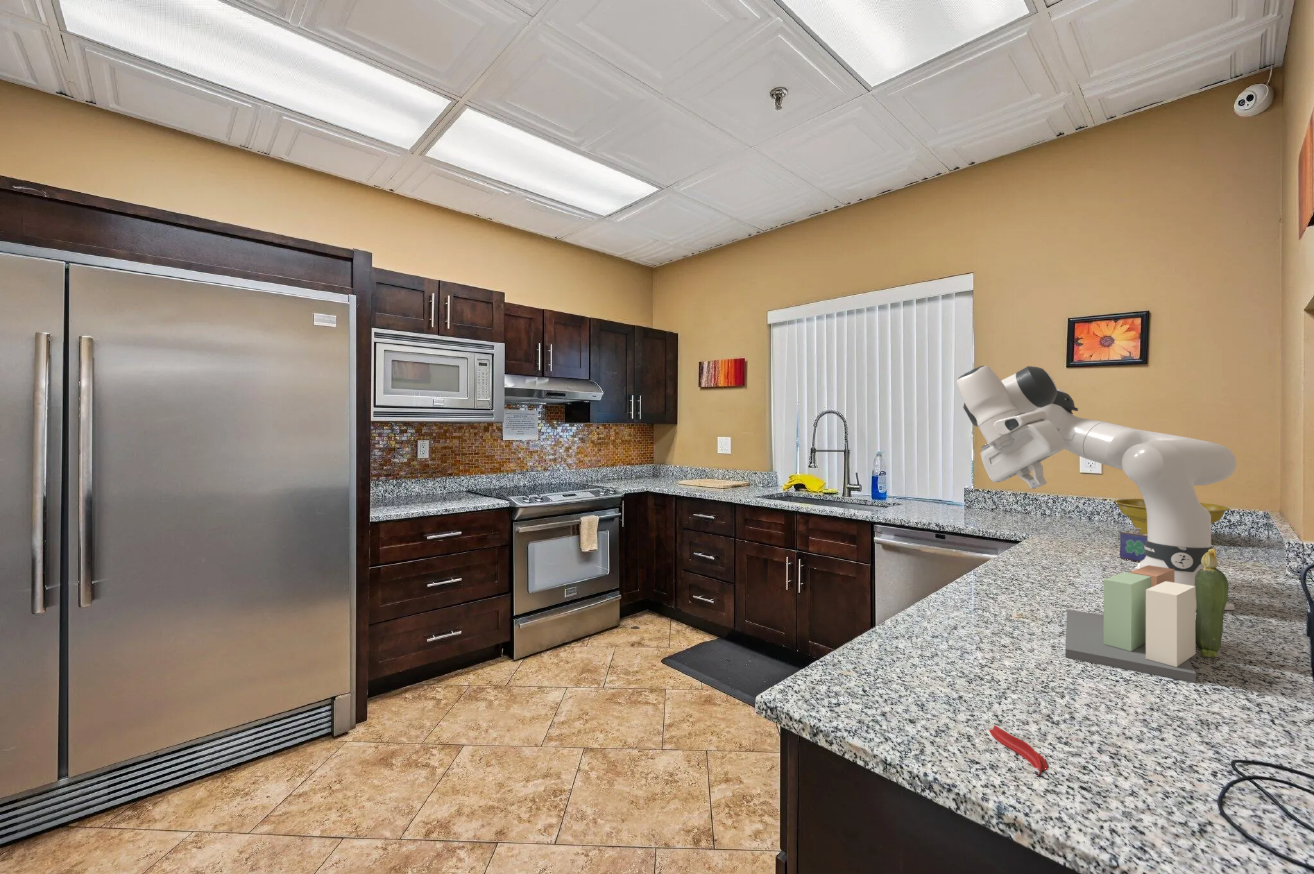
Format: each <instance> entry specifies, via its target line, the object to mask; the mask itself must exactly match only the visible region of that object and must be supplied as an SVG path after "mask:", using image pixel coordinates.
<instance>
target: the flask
mask: <svg viewBox="0 0 1314 874" xmlns="http://www.w3.org/2000/svg"><path fill="white" fill-rule="evenodd" d="M1133 529H1134V530H1121V531H1120V532H1119V533H1120V535H1119V537H1120V538H1119V539H1120V541H1119V546H1120V547H1119V558H1121V559H1120V560H1122V559H1128V560H1131V561H1130V562H1135V561H1138V562H1137V563H1140V561H1142V560H1144V559H1145V557H1146V555H1145V549H1144V545H1145V541H1146V540H1147V534H1141V533H1140V530H1141V529H1140V528H1135V527H1133ZM1128 560H1127V561H1128Z"/></svg>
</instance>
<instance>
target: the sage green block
mask: <svg viewBox="0 0 1314 874" xmlns="http://www.w3.org/2000/svg"><path fill="white" fill-rule="evenodd" d="M1149 588H1151V576H1145V575H1139V574H1133V573H1130V572H1127V571H1126V572H1125V571H1123V572H1121V573H1118V574H1115V575H1112V576H1110V577H1107V578H1104V579H1103V615H1104V644H1105V645H1109V646H1113V647H1117V648H1121V649H1124V650H1128V651H1132V650H1134V649H1136V648H1138V647H1139V646H1141V645H1143V644H1145V643H1146V589H1149Z"/></svg>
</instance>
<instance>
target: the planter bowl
mask: <svg viewBox="0 0 1314 874" xmlns="http://www.w3.org/2000/svg"><path fill="white" fill-rule="evenodd" d="M1113 502H1114V503H1116V504H1117V506H1118V509H1119V510H1120V512H1121V514H1123V515H1124V516H1126V517H1127V518H1129V520H1130V521H1131V523H1132V525H1133V526H1134V528H1140V529H1141V530H1140V534H1147V511H1146V506H1145V502H1144V499H1143V498H1121V499H1116V500H1114V501H1113ZM1200 504H1201V505H1202V506H1203V507H1204V508H1206V509H1207V510H1208V511H1209V513H1210V515H1211V525H1212V524H1215V523H1216V522H1217V523H1218V522H1219V521H1221V519H1222V518H1223V516H1224V514H1225V512H1226V511H1229V510H1230V508H1229V507H1228V506H1224V505H1219V504H1213V503H1206V502H1200Z"/></svg>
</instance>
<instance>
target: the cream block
mask: <svg viewBox="0 0 1314 874" xmlns="http://www.w3.org/2000/svg"><path fill="white" fill-rule="evenodd" d="M1195 621H1196V610H1195V586H1191V585H1185V584H1179V583H1173V582H1167V581H1165V582H1162V583H1160V584H1158V585H1155V586H1153V587H1151V588H1149V589H1146V659H1149V660H1152V661H1156V662H1160V663H1164V664H1167V665H1171V666H1175V667H1177V666H1179V665H1180V664H1182V663H1183V662H1185V661H1186V660H1187V659H1189V660H1190V658H1192V657H1193V656H1195V655H1196V642H1195Z"/></svg>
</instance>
